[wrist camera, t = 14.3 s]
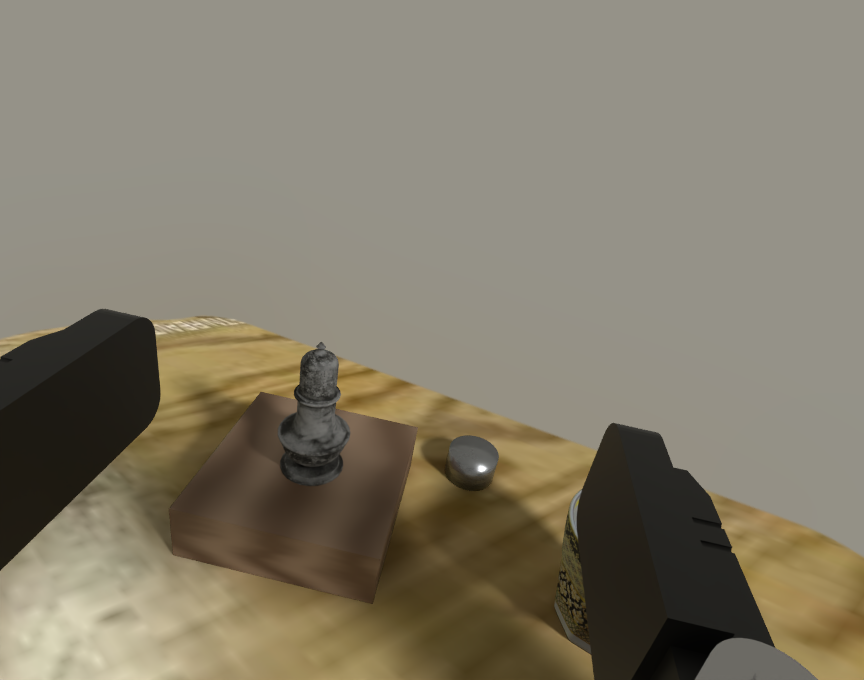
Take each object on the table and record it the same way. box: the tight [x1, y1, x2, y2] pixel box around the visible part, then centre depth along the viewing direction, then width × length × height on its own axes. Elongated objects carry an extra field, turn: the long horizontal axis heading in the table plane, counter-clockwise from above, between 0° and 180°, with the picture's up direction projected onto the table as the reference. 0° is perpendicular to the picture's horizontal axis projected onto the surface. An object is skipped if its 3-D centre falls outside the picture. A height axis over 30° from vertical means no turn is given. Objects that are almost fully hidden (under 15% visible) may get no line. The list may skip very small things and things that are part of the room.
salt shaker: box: [278, 342, 350, 486], centre depth 44 cm, size 6×6×12 cm
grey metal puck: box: [445, 436, 499, 491], centre depth 55 cm, size 5×5×3 cm
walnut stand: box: [169, 392, 418, 604], centre depth 48 cm, size 16×16×5 cm
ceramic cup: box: [554, 489, 591, 654], centre depth 40 cm, size 13×10×10 cm
